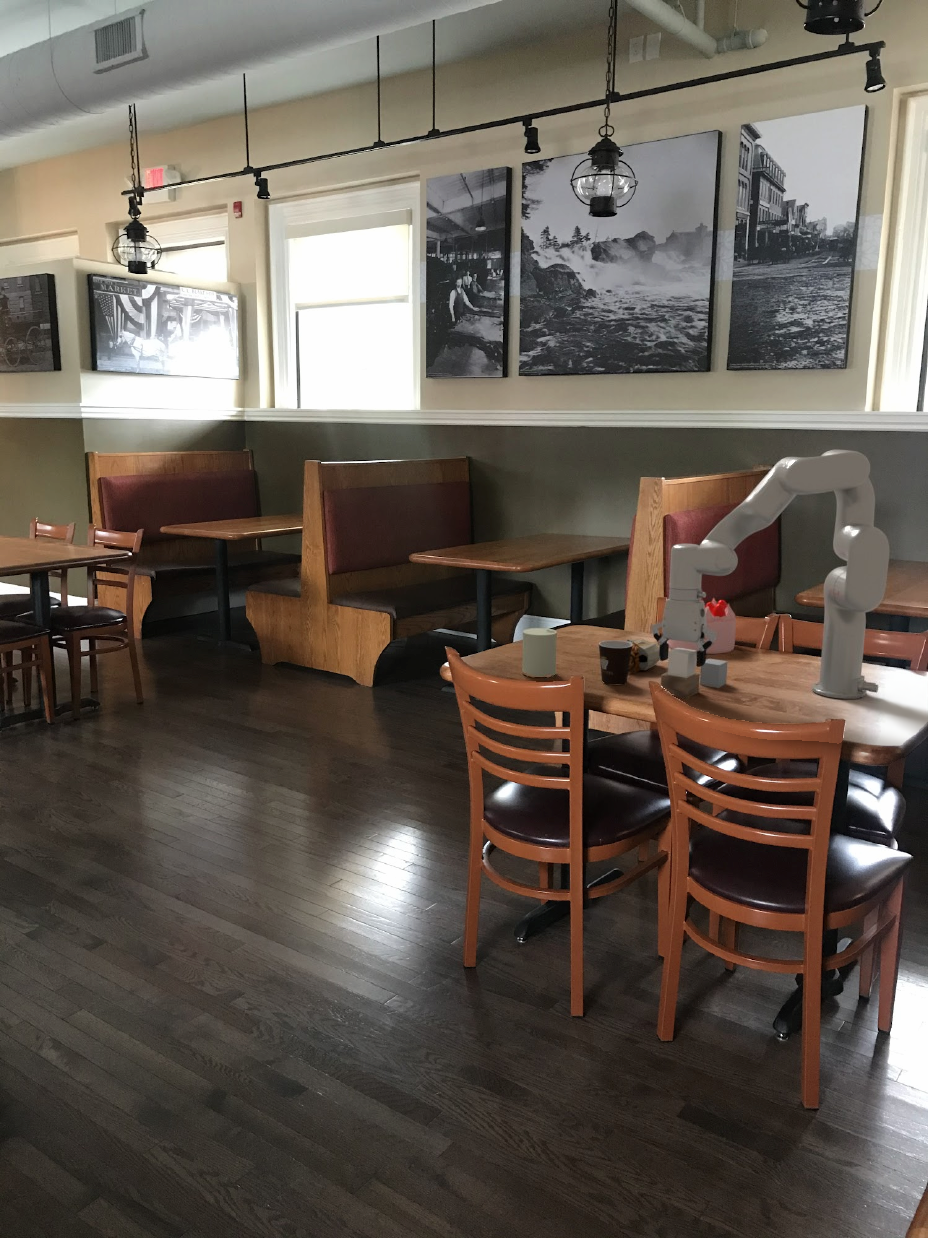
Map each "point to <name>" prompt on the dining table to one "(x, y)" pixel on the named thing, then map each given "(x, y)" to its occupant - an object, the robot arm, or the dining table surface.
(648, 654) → the nautilus
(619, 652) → the coffee mug
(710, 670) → the grey block
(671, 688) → the metal block
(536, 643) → the can
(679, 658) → the ceramic block
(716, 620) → the cake
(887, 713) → the dining table surface
